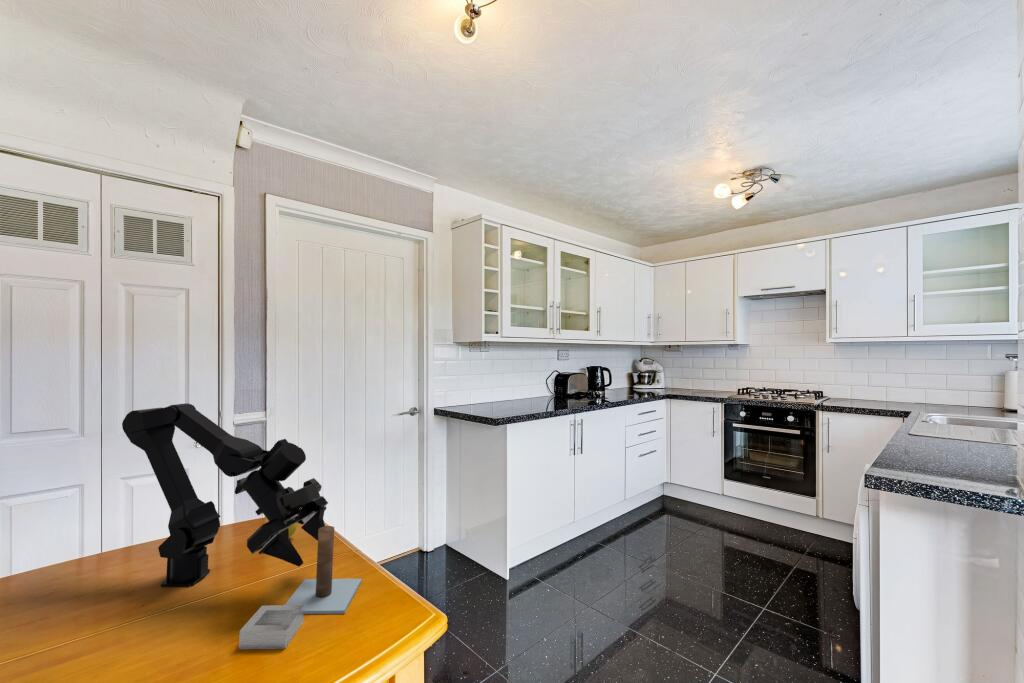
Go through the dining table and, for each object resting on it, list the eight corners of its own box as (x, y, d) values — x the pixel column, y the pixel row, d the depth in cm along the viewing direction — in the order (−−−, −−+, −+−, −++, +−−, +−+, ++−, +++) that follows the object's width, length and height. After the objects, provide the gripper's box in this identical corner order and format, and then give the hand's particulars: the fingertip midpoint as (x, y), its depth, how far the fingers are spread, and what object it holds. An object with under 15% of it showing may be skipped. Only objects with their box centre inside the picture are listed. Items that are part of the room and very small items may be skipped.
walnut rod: (315, 599, 88) (318, 532, 89) (315, 591, 91) (318, 527, 92) (332, 595, 90) (335, 530, 90) (330, 588, 92) (333, 525, 93)
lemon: (300, 536, 119) (302, 506, 119) (288, 545, 114) (289, 513, 114) (281, 535, 120) (282, 505, 120) (268, 544, 114) (269, 512, 114)
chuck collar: (238, 649, 74) (239, 630, 74) (261, 622, 82) (262, 605, 82) (285, 648, 74) (286, 630, 75) (303, 621, 82) (304, 605, 82)
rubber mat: (279, 614, 84) (279, 611, 84) (305, 581, 96) (305, 579, 96) (344, 613, 85) (344, 610, 85) (361, 581, 97) (361, 578, 97)
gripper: (263, 482, 83) (314, 548, 81) (322, 459, 102) (365, 513, 99) (224, 520, 84) (273, 587, 82) (289, 491, 103) (331, 545, 101)
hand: (315, 554), depth 91 cm, fingers open, 9 cm apart
